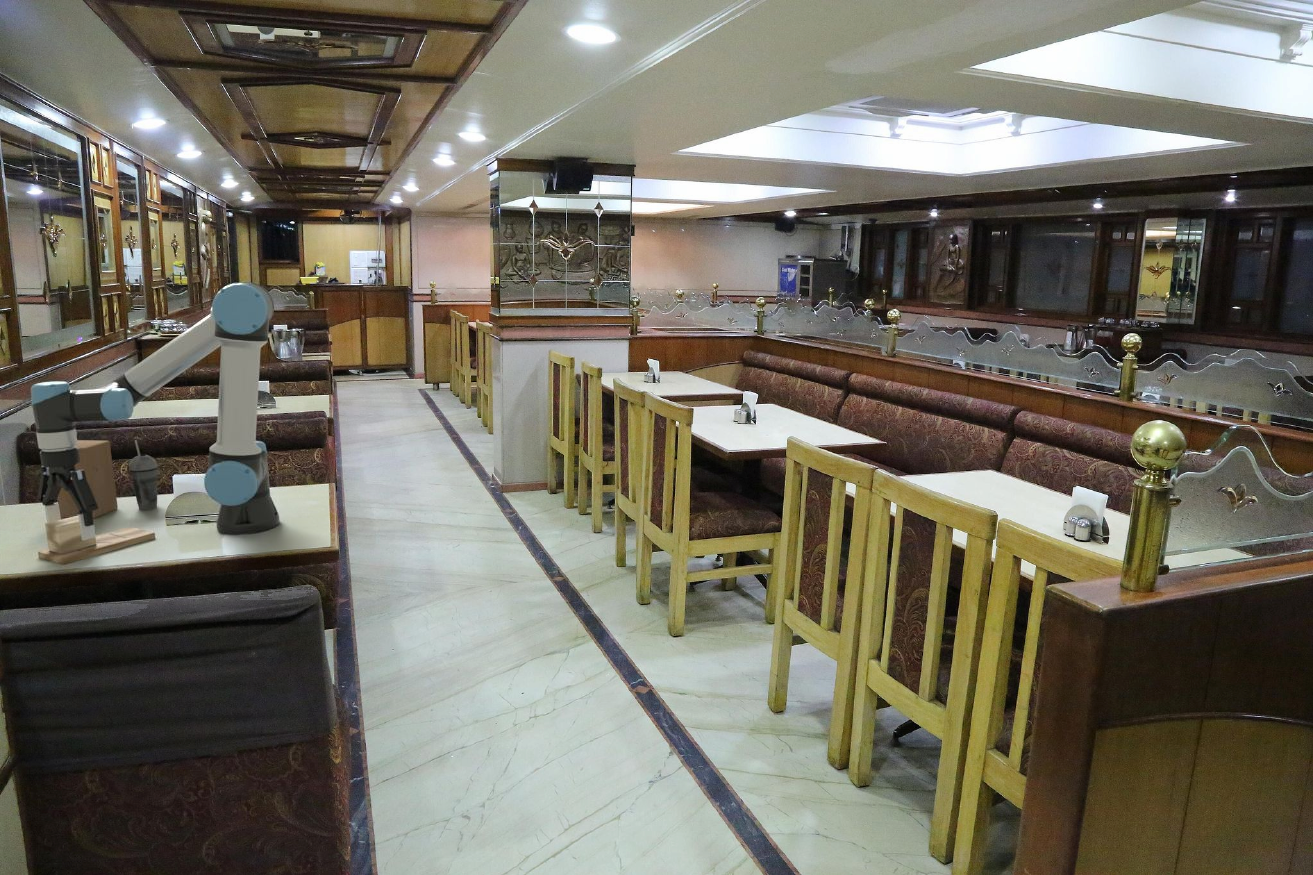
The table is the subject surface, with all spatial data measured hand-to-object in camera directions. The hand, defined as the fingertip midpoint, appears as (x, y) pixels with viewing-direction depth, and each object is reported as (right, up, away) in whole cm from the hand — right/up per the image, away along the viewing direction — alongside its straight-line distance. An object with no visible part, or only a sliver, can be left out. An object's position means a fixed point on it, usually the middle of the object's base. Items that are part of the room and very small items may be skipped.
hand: (72, 534), depth 200 cm
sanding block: (0, -3, +1) cm, 4 cm away
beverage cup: (-6, +3, +40) cm, 41 cm away
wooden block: (-19, +2, +34) cm, 39 cm away
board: (+2, -4, +6) cm, 8 cm away
